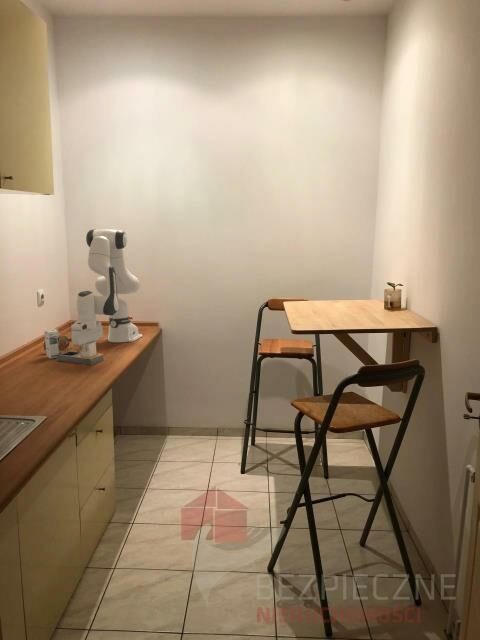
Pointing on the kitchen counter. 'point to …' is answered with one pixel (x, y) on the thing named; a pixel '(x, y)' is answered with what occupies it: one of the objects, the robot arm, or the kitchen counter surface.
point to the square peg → (90, 349)
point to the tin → (61, 343)
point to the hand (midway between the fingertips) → (88, 350)
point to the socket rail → (79, 358)
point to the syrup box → (52, 343)
